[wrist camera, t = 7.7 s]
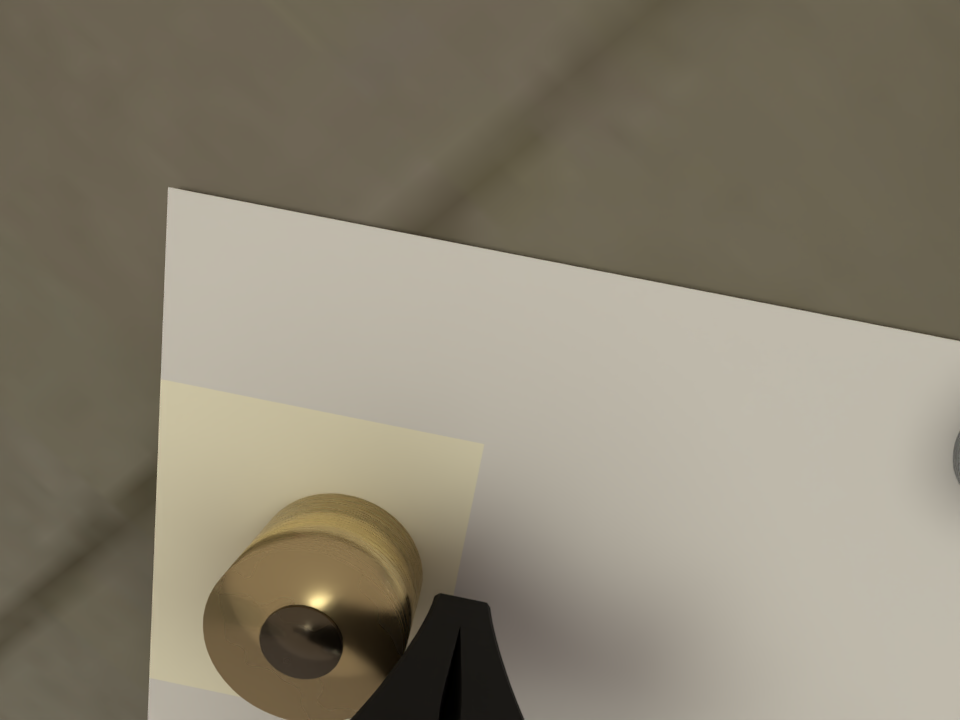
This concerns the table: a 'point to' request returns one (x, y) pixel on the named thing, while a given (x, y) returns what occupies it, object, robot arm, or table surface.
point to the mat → (565, 469)
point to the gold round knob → (315, 608)
